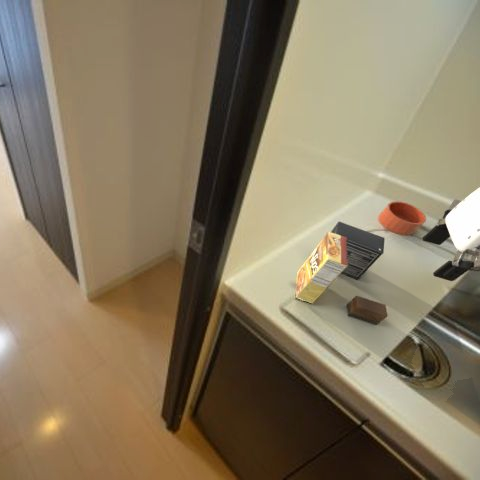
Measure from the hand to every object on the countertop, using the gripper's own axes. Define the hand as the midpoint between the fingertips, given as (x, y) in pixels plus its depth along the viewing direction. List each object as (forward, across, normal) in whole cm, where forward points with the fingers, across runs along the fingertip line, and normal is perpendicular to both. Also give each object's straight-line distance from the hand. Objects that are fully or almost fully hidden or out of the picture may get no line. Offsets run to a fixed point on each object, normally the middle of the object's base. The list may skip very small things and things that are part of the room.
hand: (436, 258), depth 63 cm
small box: (+18, +11, +8) cm, 23 cm away
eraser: (+18, -4, +4) cm, 19 cm away
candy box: (+18, -1, +16) cm, 25 cm away
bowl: (+18, +34, -9) cm, 40 cm away
